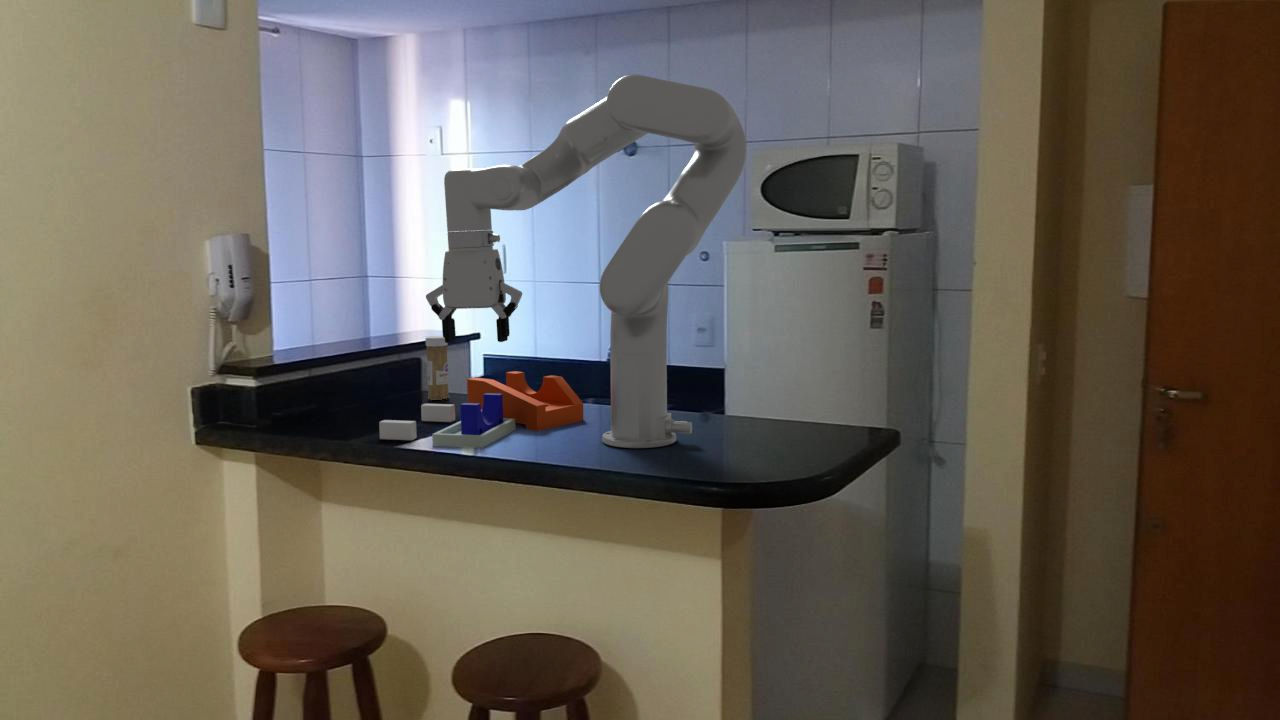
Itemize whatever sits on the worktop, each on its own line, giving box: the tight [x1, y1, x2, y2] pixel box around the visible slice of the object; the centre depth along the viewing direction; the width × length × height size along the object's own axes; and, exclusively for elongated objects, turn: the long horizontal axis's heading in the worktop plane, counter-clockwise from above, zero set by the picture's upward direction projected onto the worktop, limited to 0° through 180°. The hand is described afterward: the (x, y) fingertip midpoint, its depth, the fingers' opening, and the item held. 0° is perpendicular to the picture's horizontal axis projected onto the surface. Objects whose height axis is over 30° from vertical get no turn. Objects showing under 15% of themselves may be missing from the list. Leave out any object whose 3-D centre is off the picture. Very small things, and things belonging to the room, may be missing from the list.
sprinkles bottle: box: [425, 335, 450, 401], centre depth 225 cm, size 5×5×13 cm
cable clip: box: [460, 393, 503, 435], centre depth 186 cm, size 12×4×6 cm, turn 166°
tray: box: [431, 418, 516, 449], centre depth 186 cm, size 9×16×2 cm, turn 167°
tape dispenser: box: [466, 370, 584, 432], centre depth 201 cm, size 18×13×8 cm
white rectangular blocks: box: [378, 403, 456, 441], centre depth 194 cm, size 6×19×3 cm, turn 167°
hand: (476, 341), depth 184 cm, fingers open, 9 cm apart
